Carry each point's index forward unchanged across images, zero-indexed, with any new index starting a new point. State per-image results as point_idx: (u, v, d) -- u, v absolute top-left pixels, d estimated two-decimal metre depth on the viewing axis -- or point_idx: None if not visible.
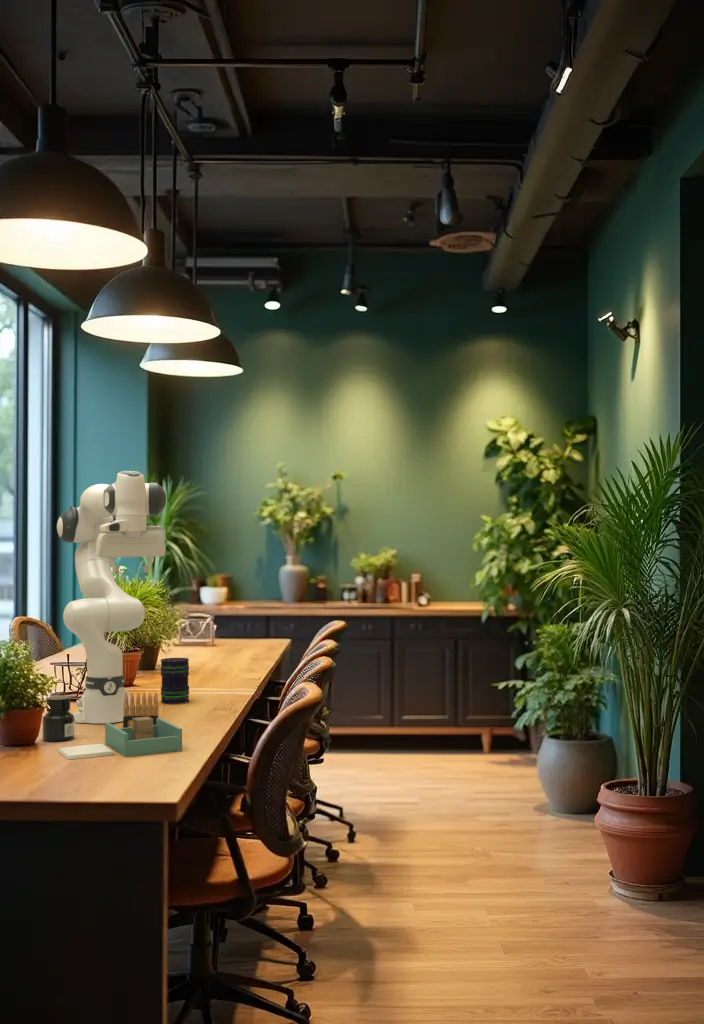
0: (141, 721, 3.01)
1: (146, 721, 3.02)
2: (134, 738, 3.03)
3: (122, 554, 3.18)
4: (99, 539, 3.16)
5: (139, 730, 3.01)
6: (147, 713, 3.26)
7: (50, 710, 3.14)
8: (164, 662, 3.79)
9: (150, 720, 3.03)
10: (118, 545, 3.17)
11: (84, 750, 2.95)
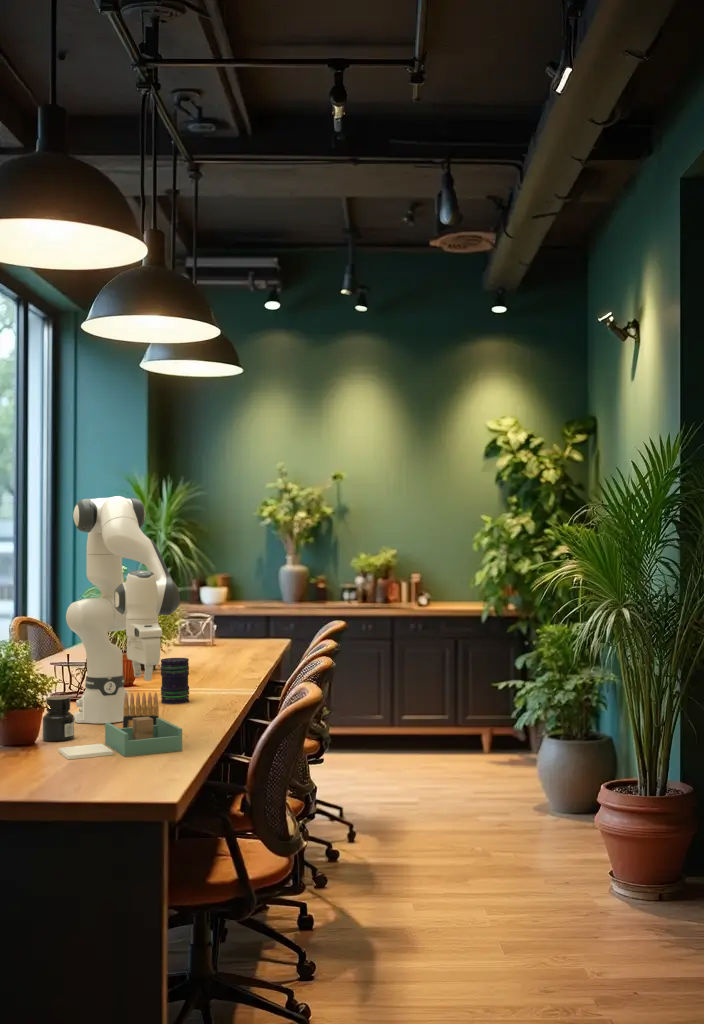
0: (141, 721, 3.01)
1: (146, 721, 3.02)
2: (134, 738, 3.03)
3: None
4: (155, 645, 2.96)
5: (139, 730, 3.01)
6: (147, 713, 3.26)
7: (50, 710, 3.14)
8: (164, 662, 3.79)
9: (150, 720, 3.03)
10: None
11: (84, 750, 2.95)
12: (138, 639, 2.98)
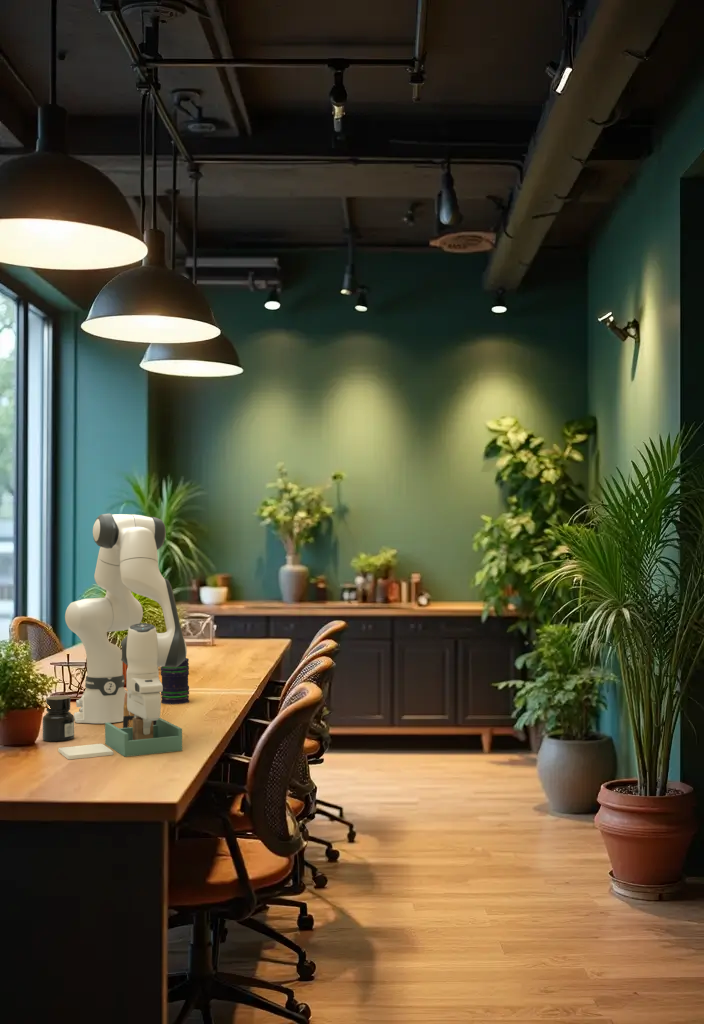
0: (141, 721, 3.01)
1: None
2: (134, 738, 3.03)
3: None
4: (155, 701, 2.96)
5: (139, 729, 3.01)
6: None
7: (50, 710, 3.14)
8: None
9: None
10: None
11: (84, 750, 2.95)
12: (138, 694, 2.98)
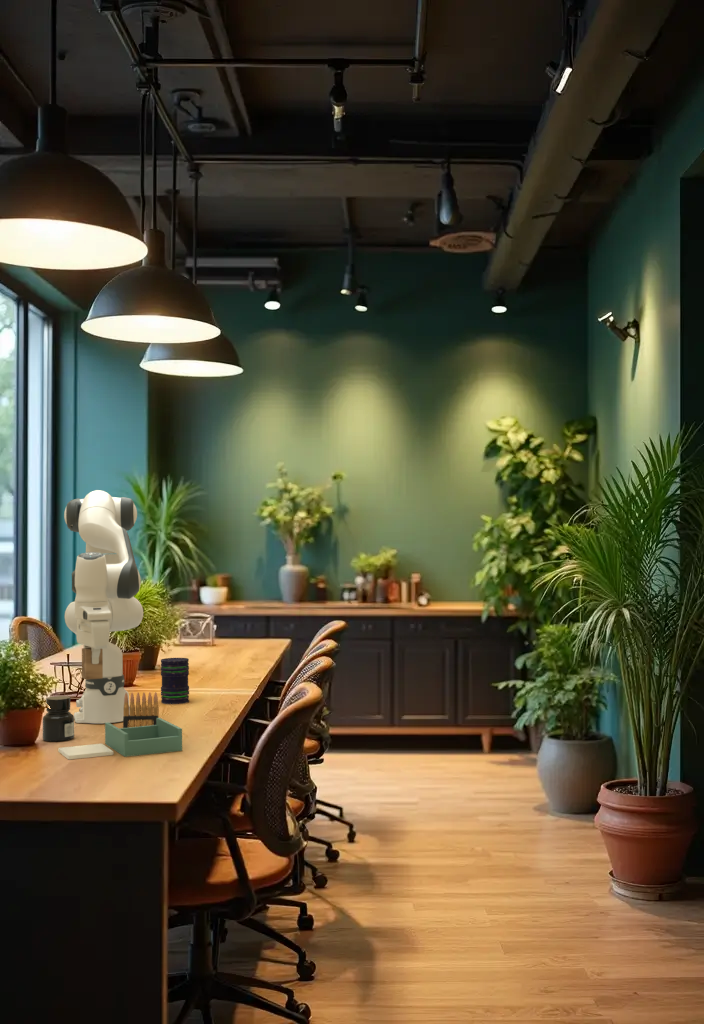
0: (90, 650, 2.95)
1: None
2: (83, 668, 2.97)
3: None
4: (103, 628, 2.89)
5: (87, 659, 2.95)
6: (147, 713, 3.26)
7: (50, 710, 3.14)
8: (164, 662, 3.79)
9: None
10: None
11: (84, 750, 2.95)
12: (86, 622, 2.91)
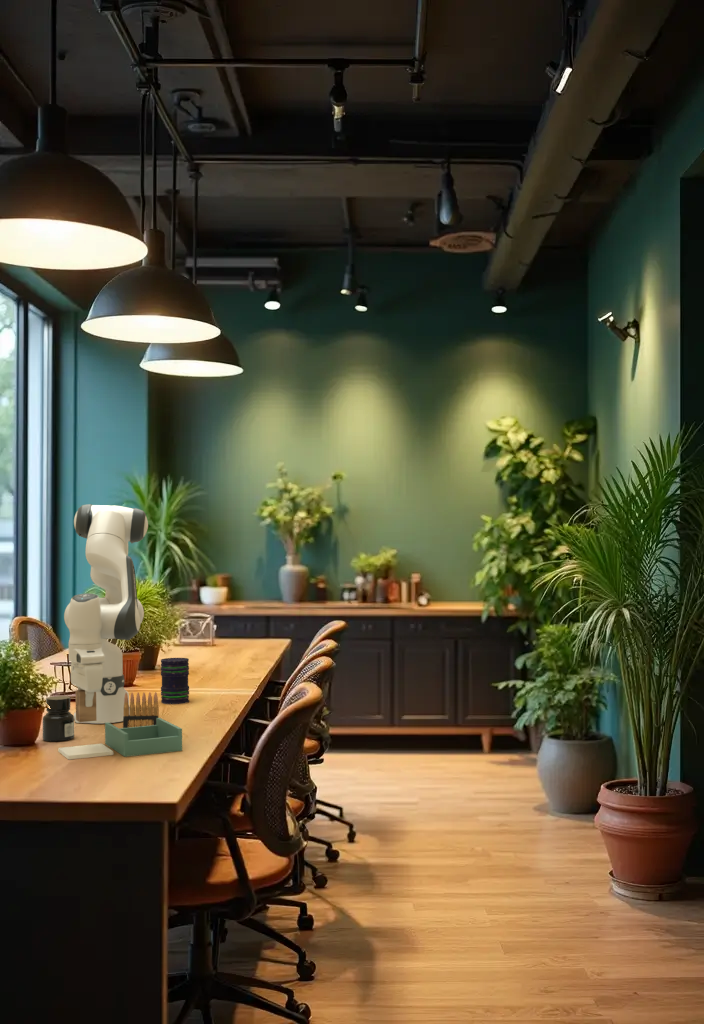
0: (83, 693, 2.94)
1: None
2: (77, 711, 2.96)
3: None
4: (97, 671, 2.88)
5: (81, 702, 2.94)
6: (147, 713, 3.26)
7: (50, 710, 3.14)
8: (164, 662, 3.79)
9: None
10: None
11: (84, 750, 2.95)
12: (80, 665, 2.90)
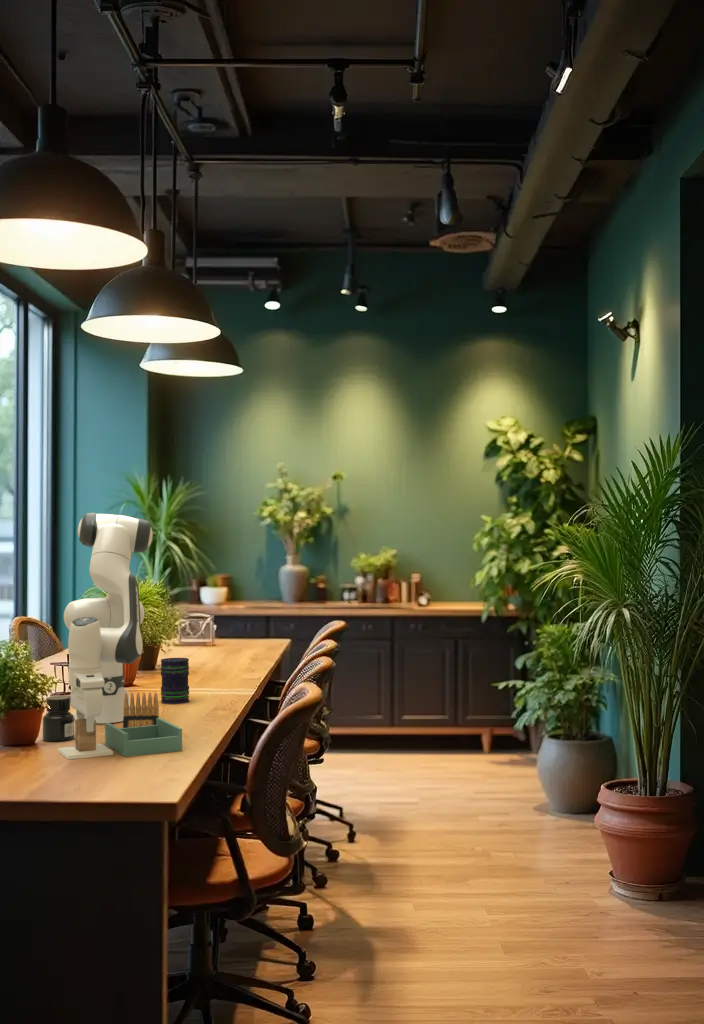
0: (83, 722, 2.94)
1: None
2: (76, 740, 2.96)
3: None
4: (96, 696, 2.88)
5: (81, 731, 2.94)
6: (147, 713, 3.26)
7: (50, 710, 3.14)
8: (164, 662, 3.79)
9: None
10: None
11: None
12: (80, 689, 2.90)
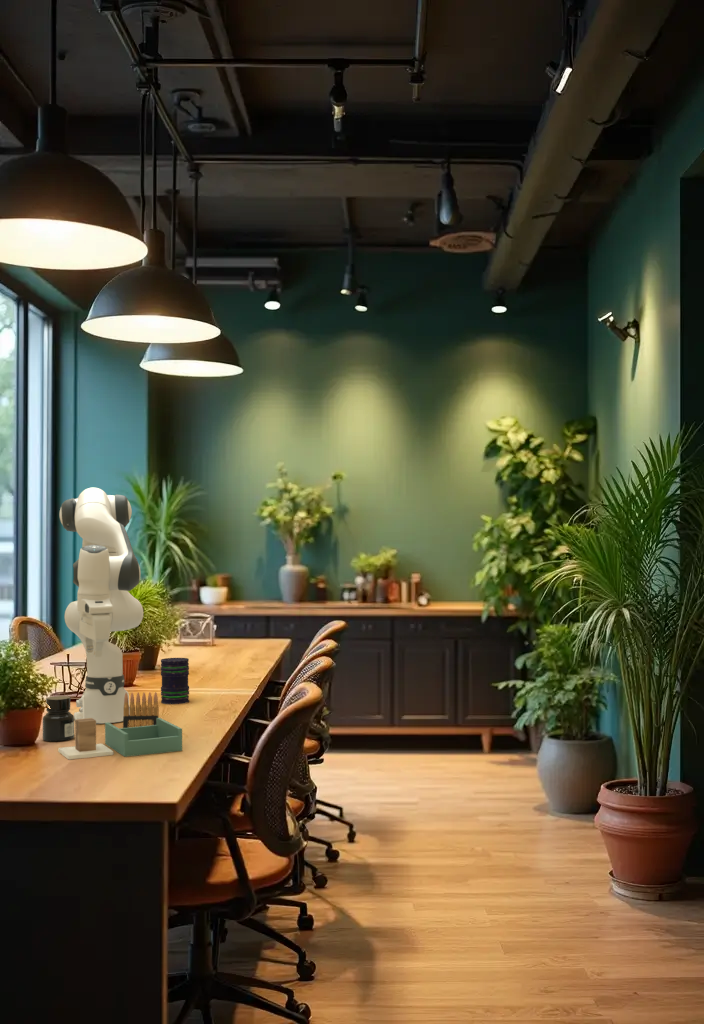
0: (83, 722, 2.94)
1: (88, 722, 2.95)
2: (76, 740, 2.96)
3: None
4: (104, 622, 2.92)
5: (81, 731, 2.94)
6: (147, 713, 3.26)
7: (50, 710, 3.14)
8: (164, 662, 3.79)
9: (93, 721, 2.95)
10: None
11: None
12: (88, 615, 2.94)
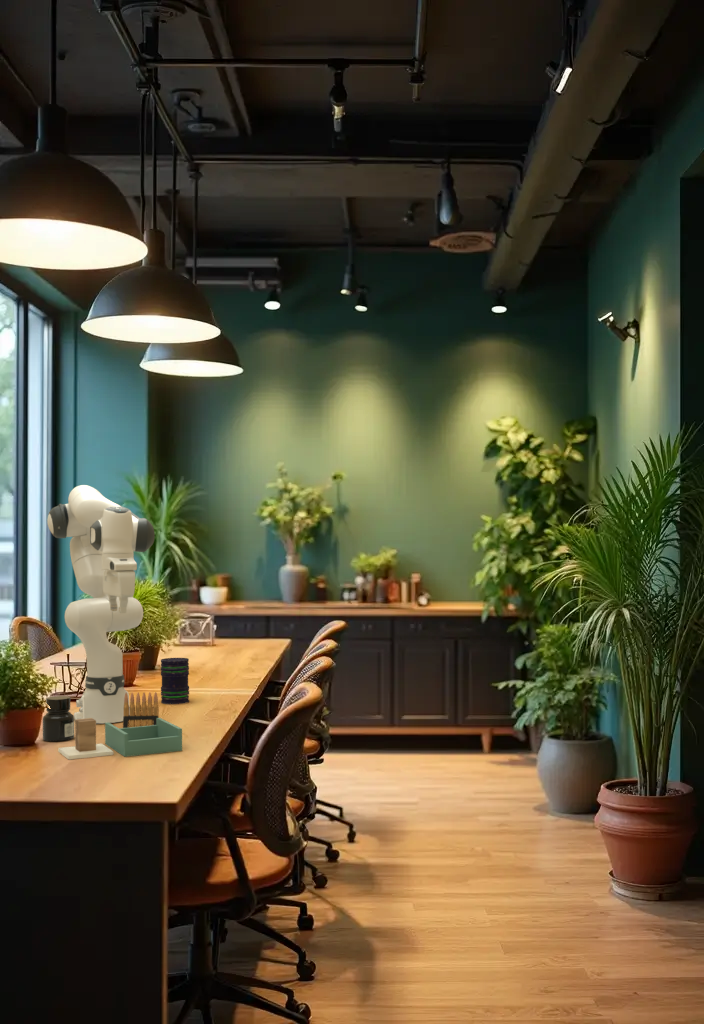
0: (83, 722, 2.94)
1: (88, 722, 2.95)
2: (76, 740, 2.96)
3: None
4: (129, 578, 3.03)
5: (81, 731, 2.94)
6: (147, 713, 3.26)
7: (50, 710, 3.14)
8: (164, 662, 3.79)
9: (93, 721, 2.95)
10: None
11: None
12: (113, 572, 3.05)
